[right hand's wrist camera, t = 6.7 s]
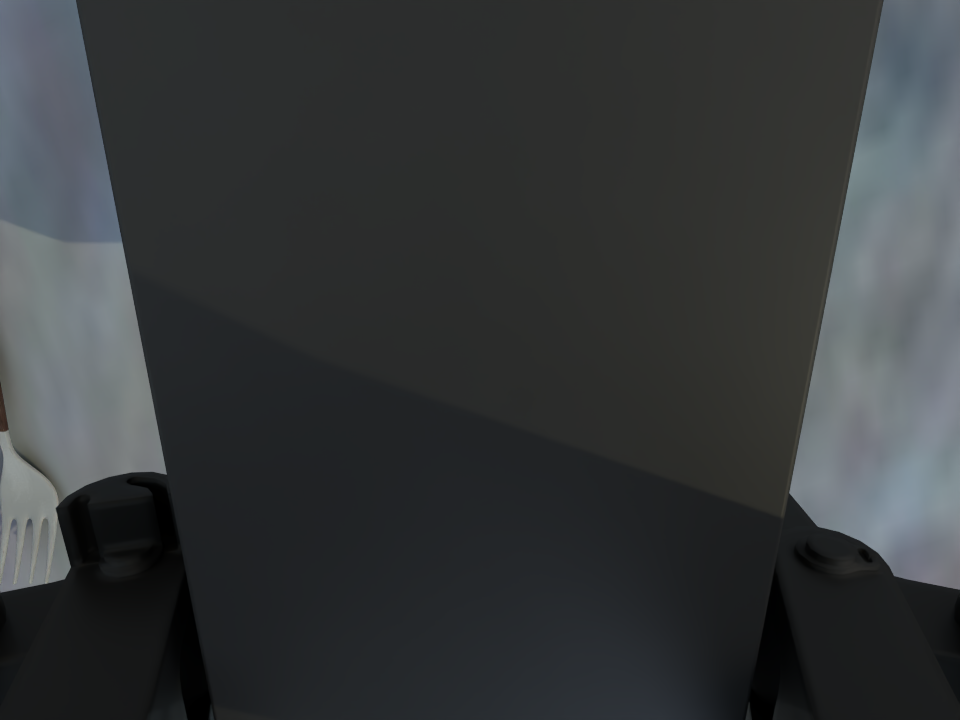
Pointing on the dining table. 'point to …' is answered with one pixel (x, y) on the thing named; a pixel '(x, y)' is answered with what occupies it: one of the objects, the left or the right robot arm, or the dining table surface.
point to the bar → (479, 335)
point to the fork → (24, 502)
